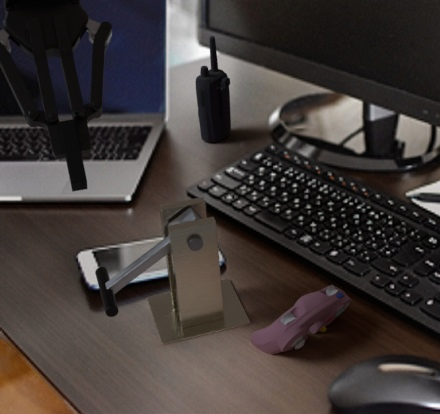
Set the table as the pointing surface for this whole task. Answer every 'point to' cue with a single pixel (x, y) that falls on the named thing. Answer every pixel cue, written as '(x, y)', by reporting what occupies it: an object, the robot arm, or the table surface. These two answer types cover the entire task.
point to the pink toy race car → (302, 320)
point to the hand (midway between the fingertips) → (79, 186)
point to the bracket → (194, 279)
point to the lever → (135, 267)
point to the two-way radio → (213, 100)
